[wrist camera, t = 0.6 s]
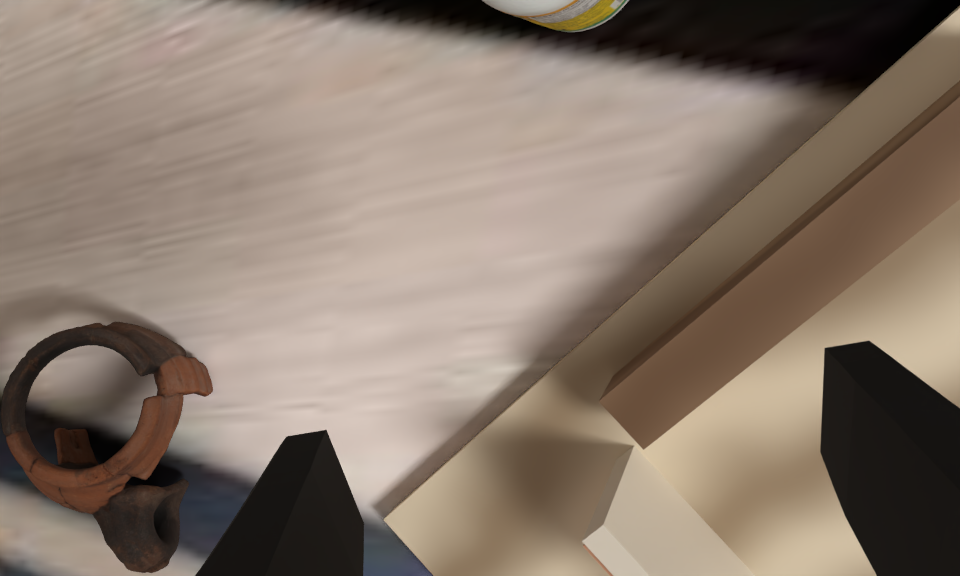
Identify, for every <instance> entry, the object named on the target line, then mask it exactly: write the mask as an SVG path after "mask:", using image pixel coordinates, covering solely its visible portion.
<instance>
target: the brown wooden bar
mask: <svg viewBox="0 0 960 576" xmlns="http://www.w3.org/2000/svg"><path fill="white" fill-rule="evenodd" d="M958 200H960V81H958V82H957V83H956V84H955V85H954V86H953V87H951V88H950V89H949V90H948V91H947V92H946V93H944V94H943V95H942V96H941V97H940V98H939V99H937V100H936V101H935V102H934V103H933V104H931V105H930V106H929V107H928V108H927V109H926V110H924V111H923V112H922V113H921V114H920V115H919V116H917V117H916V118H915V119H914V120H913V121H912V122H910V123H909V124H908V125H907V126H906V127H904V128H903V129H902V130H901V131H900V132H899V133H897V134H896V135H895V136H894V137H893V138H892V139H890V140H889V141H888V142H887V143H886V144H885V145H883V146H882V147H881V148H880V149H879V150H877V151H876V152H875V153H874V154H873V155H872V156H870V157H869V158H868V159H867V160H866V161H865V162H863V163H862V164H861V165H860V166H859V167H858V168H856V169H855V170H854V171H853V172H852V173H850V174H849V175H848V176H847V177H846V178H845V179H843V180H842V181H841V182H840V183H839V184H838V185H836V186H835V187H834V188H833V189H832V190H831V191H829V192H828V193H827V194H826V195H825V196H823V197H822V198H821V199H820V200H819V201H818V202H816V203H815V204H814V205H813V206H812V207H811V208H809V209H808V210H807V211H806V212H805V213H804V214H802V215H801V216H800V217H799V218H798V219H796V220H795V221H794V222H793V223H792V224H791V225H789V226H788V227H787V228H786V229H785V230H784V231H782V232H781V233H780V234H779V235H778V236H777V237H775V238H774V239H773V240H772V241H771V242H769V243H768V244H767V245H766V246H765V247H764V248H762V249H761V250H760V251H759V252H758V253H757V254H755V255H754V256H753V257H752V258H751V259H750V260H748V261H747V262H746V263H745V264H744V265H742V266H741V267H740V268H739V269H738V270H737V271H735V272H734V273H733V274H732V275H731V276H730V277H728V278H727V279H726V280H725V281H724V282H722V283H721V284H720V285H719V286H718V287H717V288H715V289H714V290H713V291H712V292H711V293H710V294H708V295H707V296H706V297H705V298H704V299H703V300H701V301H700V302H699V303H698V304H697V305H695V306H694V307H693V308H692V309H691V310H690V311H688V312H687V313H686V314H685V315H684V316H683V317H681V318H680V319H679V320H678V321H677V322H676V323H674V324H673V325H672V326H671V327H670V328H668V329H667V330H666V331H665V332H664V333H663V334H661V335H660V336H659V337H658V338H657V339H656V340H654V341H653V342H652V343H651V344H650V345H649V346H647V347H646V348H645V349H644V350H643V351H641V352H640V353H639V354H638V355H637V356H636V357H634V358H633V359H632V360H631V361H630V362H629V363H627V364H626V365H625V366H624V367H623V368H622V369H620V370H619V371H618V372H617V373H616V374H614V375H613V377H612V379H611V380H610V382H609V384H608V386H607V387H606V389H605V391H604V393H603V395H602V396H601V398H600V400H599V403H600V404H601V405H602V406H603V407H604V408H605V409H606V410H607V411H608V412H609V413H610V414H611V415H612V416H613V418H614V419H615V420H616V421H617V422H618V423H619V424H620V425H621V426H622V427H623V428H624V429H625V430H626V432H627V433H628V434H629V435H630V436H631V437H632V438H633V439H634V440H635V441H636V442H637V443H638V444H639V445H640V447H641V448H642V449H643V450H644V449H645V448H647V447H648V446H649V445H650V444H652V443H653V442H654V441H656V440H657V439H658V438H659V437H661V436H662V435H663V434H664V433H666V432H667V431H668V430H669V429H671V428H672V427H673V426H674V425H676V424H677V423H678V422H679V421H681V420H682V419H683V418H685V417H686V416H687V415H688V414H690V413H691V412H692V411H693V410H695V409H696V408H697V407H698V406H700V405H701V404H702V403H703V402H705V401H706V400H707V399H709V398H710V397H711V396H712V395H714V394H715V393H716V392H717V391H719V390H720V389H721V388H722V387H724V386H725V385H726V384H727V383H729V382H730V381H731V380H733V379H734V378H735V377H736V376H738V375H739V374H740V373H741V372H743V371H744V370H745V369H746V368H748V367H749V366H750V365H751V364H753V363H754V362H755V361H756V360H758V359H759V358H760V357H762V356H763V355H764V354H765V353H767V352H768V351H769V350H770V349H772V348H773V347H774V346H775V345H777V344H778V343H779V342H780V341H782V340H783V339H784V338H786V337H787V336H788V335H789V334H791V333H792V332H793V331H794V330H796V329H797V328H798V327H799V326H801V325H802V324H803V323H804V322H806V321H807V320H808V319H809V318H811V317H812V316H813V315H815V314H816V313H817V312H818V311H820V310H821V309H822V308H823V307H825V306H826V305H827V304H828V303H830V302H831V301H832V300H833V299H835V298H836V297H837V296H839V295H840V294H841V293H842V292H844V291H845V290H846V289H847V288H849V287H850V286H851V285H852V284H854V283H855V282H856V281H857V280H859V279H860V278H861V277H862V276H864V275H865V274H866V273H868V272H869V271H870V270H871V269H873V268H874V267H875V266H876V265H878V264H879V263H880V262H881V261H883V260H884V259H885V258H886V257H888V256H889V255H890V254H892V253H893V252H894V251H895V250H897V249H898V248H899V247H900V246H902V245H903V244H904V243H905V242H907V241H908V240H909V239H910V238H912V237H913V236H914V235H915V234H917V233H918V232H919V231H921V230H922V229H923V228H924V227H926V226H927V225H928V224H929V223H931V222H932V221H933V220H934V219H936V218H937V217H938V216H939V215H941V214H942V213H943V212H945V211H946V210H947V209H948V208H950V207H951V206H952V205H953V204H955V203H956V202H957V201H958Z"/></svg>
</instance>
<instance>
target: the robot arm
mask: <svg viewBox="0 0 960 576" xmlns="http://www.w3.org/2000/svg"><path fill="white" fill-rule="evenodd" d="M820 453H821V455H822V458H823V461H824V463H825V466H826V469H827V471H828V474H829V477H830V479H831V482H832V485H833V487H834V490H835V492H836V495H837V497H838V500H839V502H840V505H841V507H842V510H843V512H844V515H845V517H846V519H847V521H848V523H849V525H850V527H851V528H852V530H853V532H854V534H855V536H856V538H857V540H858V542H859V543H860V545H861V547H862V549H863V551H864V553H865V555H866V557H867V558H868V560H869V562H870V564H871V566H872V568H873V570H874V571H875V573H876V575H877V576H960V408H959V407H958V406H956V405H955V404H953V403H952V402H951V401H949V400H948V399H947V398H945V397H944V396H943V395H941V394H940V393H939V392H937V391H936V390H935V389H933V388H932V387H931V386H929V385H928V384H927V383H925V382H924V381H923V380H921V379H920V378H919V377H917V376H916V375H915V374H913V373H912V372H911V371H909V370H908V369H907V368H905V367H904V366H903V365H901V364H900V363H899V362H897V361H896V360H895V359H893V358H892V357H891V356H890V355H888V354H887V353H885V352H884V351H883V350H881V349H880V348H879V347H877V346H876V345H875V344H873V343H872V342H871V341H863V342H857V343H851V344H845V345H839V346H833V347H827V348H825V350H824V374H823V398H822V422H821V446H820ZM363 553H364V522H363V520H362V517H361V515H360V512H359V510H358V507H357V505H356V502H355V500H354V498H353V495H352V493H351V490H350V488H349V485H348V483H347V480H346V478H345V475H344V473H343V470H342V468H341V465H340V463H339V460H338V458H337V455H336V453H335V450H334V448H333V445H332V443H331V440H330V438H329V435H328V433H327V430H324V431H318V432H311V433H305V434H299V435H293V436H287V437H286V438H285V440H284V441H283V442H282V444H281V445H280V447H279V448H278V450H277V452H276V453H275V455H274V456H273V458H272V459H271V461H270V463H269V464H268V466H267V467H266V469H265V471H264V472H263V474H262V475H261V477H260V479H259V480H258V482H257V483H256V485H255V487H254V488H253V490H252V491H251V493H250V495H249V496H248V498H247V499H246V501H245V502H244V504H243V506H242V507H241V509H240V510H239V512H238V513H237V515H236V516H235V518H234V519H233V521H232V522H231V524H230V525H229V527H228V528H227V530H226V531H225V533H224V534H223V536H222V537H221V539H220V541H219V542H218V544H217V545H216V547H215V548H214V550H213V551H212V553H211V554H210V556H209V557H208V558H207V560H206V561H205V563H204V564H203V566H202V567H201V568H200V570H199V571H198V573H197V574H196V575H195V576H363Z"/></svg>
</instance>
